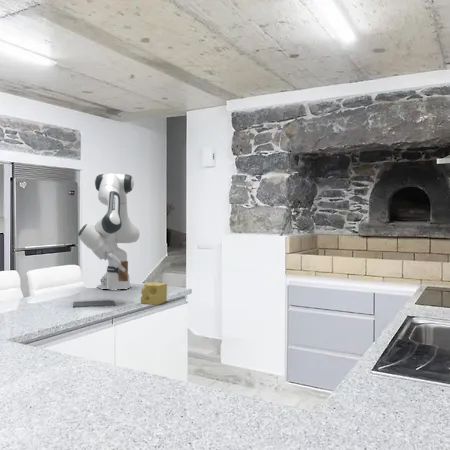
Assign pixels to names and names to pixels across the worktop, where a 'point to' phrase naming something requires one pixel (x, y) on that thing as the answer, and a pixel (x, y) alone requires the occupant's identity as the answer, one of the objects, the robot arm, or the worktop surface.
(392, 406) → the worktop surface
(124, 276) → the walnut block
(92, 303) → the slate mat
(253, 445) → the worktop surface
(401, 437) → the worktop surface
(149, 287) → the cheese
